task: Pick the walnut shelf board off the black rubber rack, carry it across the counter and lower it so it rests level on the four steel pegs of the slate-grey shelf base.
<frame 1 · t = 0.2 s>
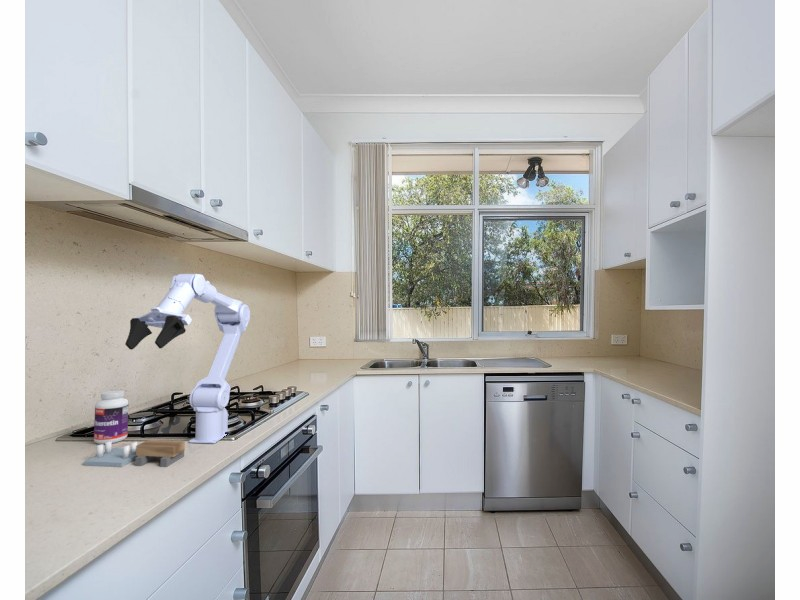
hand: (143, 346, 89), 31 cm above the worktop, tool tilted 45°, fingers open, 7 cm apart
shelf board: (160, 453, 100), point 2 cm above the worktop, touching board rack
pill bottle: (111, 441, 114), on the worktop
peg base: (117, 459, 100), on the worktop
board rack: (160, 460, 100), on the worktop
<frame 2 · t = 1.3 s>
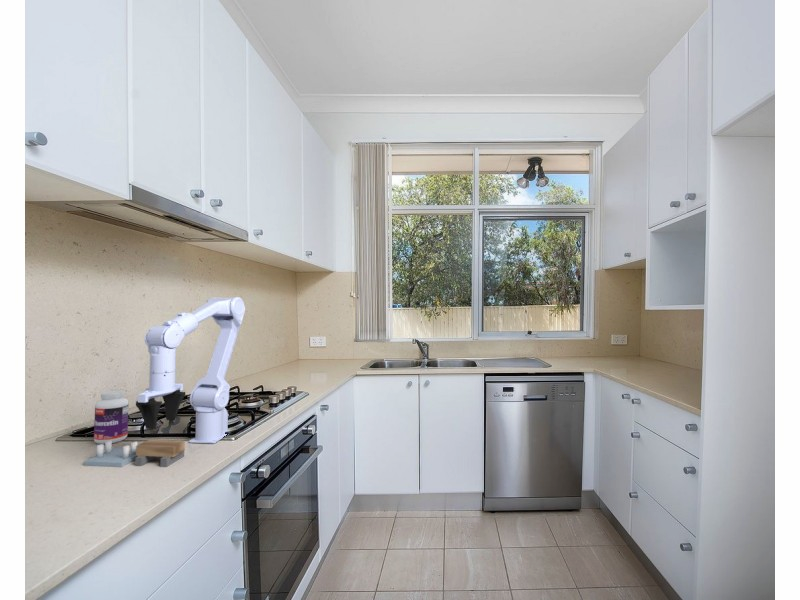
hand: (161, 424, 100), 9 cm above the worktop, tool pointing down, fingers open, 7 cm apart
nothing on the worktop moved.
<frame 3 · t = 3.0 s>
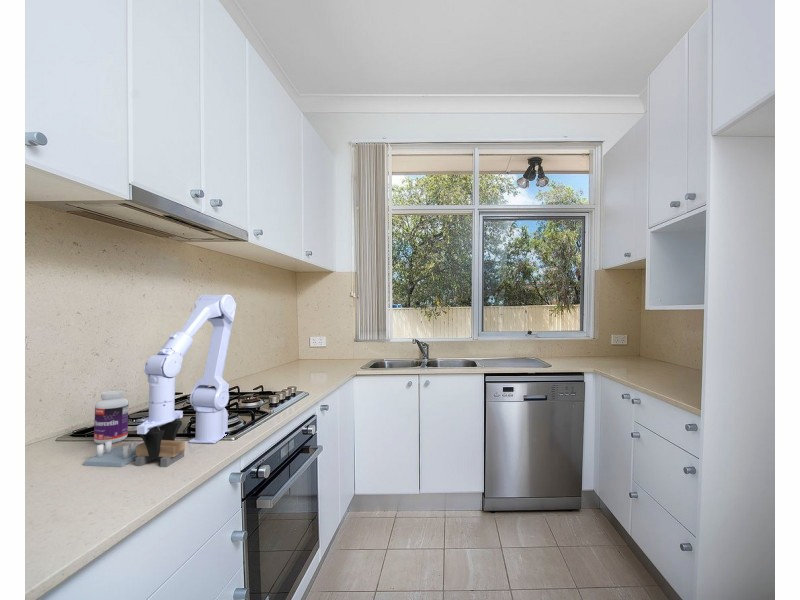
hand: (160, 453, 100), 2 cm above the worktop, tool pointing down, fingers closed on shelf board, 4 cm apart
shelf board: (160, 453, 100), point 2 cm above the worktop, touching board rack, gripper
everything else where it was.
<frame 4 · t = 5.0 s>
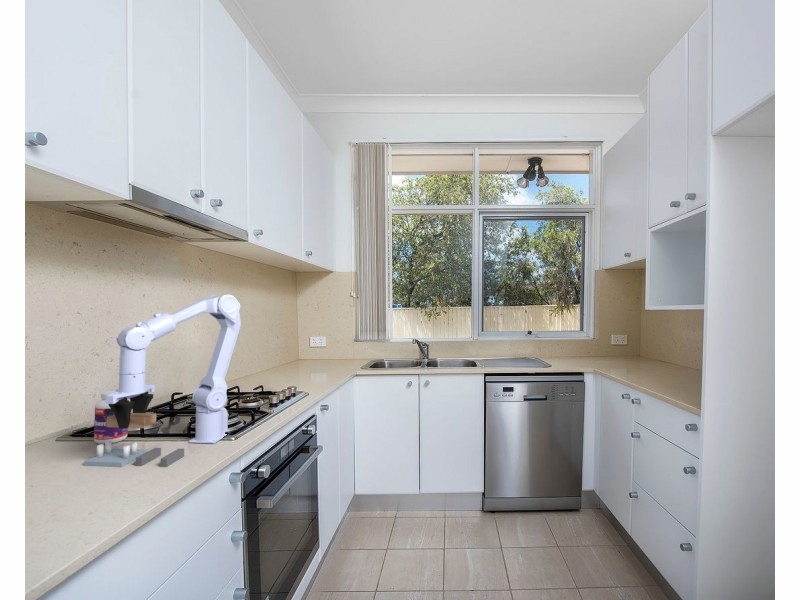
hand: (131, 425, 100), 9 cm above the worktop, tool pointing down, fingers closed on shelf board, 4 cm apart
shelf board: (131, 425, 100), point 9 cm above the worktop, touching gripper
everything else where it was.
when the fingers open (5 cm above the worktop, at t = 6.8 s): shelf board drops 1 cm, resting on peg base.
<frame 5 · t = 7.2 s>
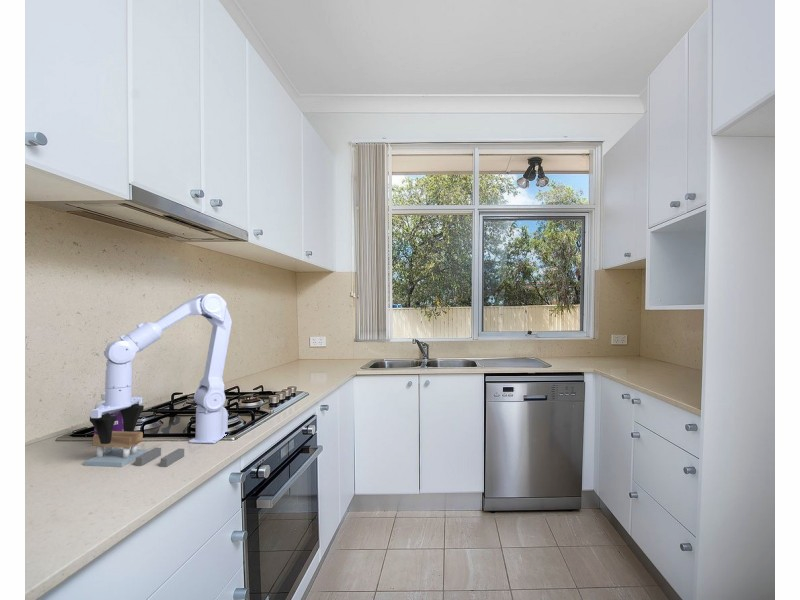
hand: (117, 438, 100), 5 cm above the worktop, tool pointing down, fingers open, 7 cm apart
shelf board: (118, 443, 100), point 4 cm above the worktop, touching peg base
everything else where it was.
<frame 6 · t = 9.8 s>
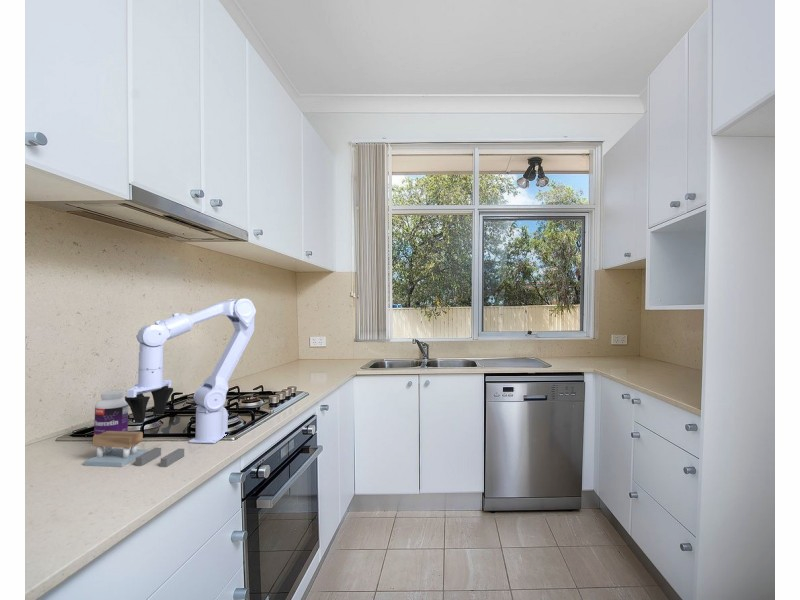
hand: (149, 418, 105), 9 cm above the worktop, tool pointing down, fingers open, 7 cm apart
nothing on the worktop moved.
at the end: shelf board 0.2 cm off-centre on the peg base, point 4.0 cm above the peg base's base; shelf board tilted 0°; the gripper is holding nothing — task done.
